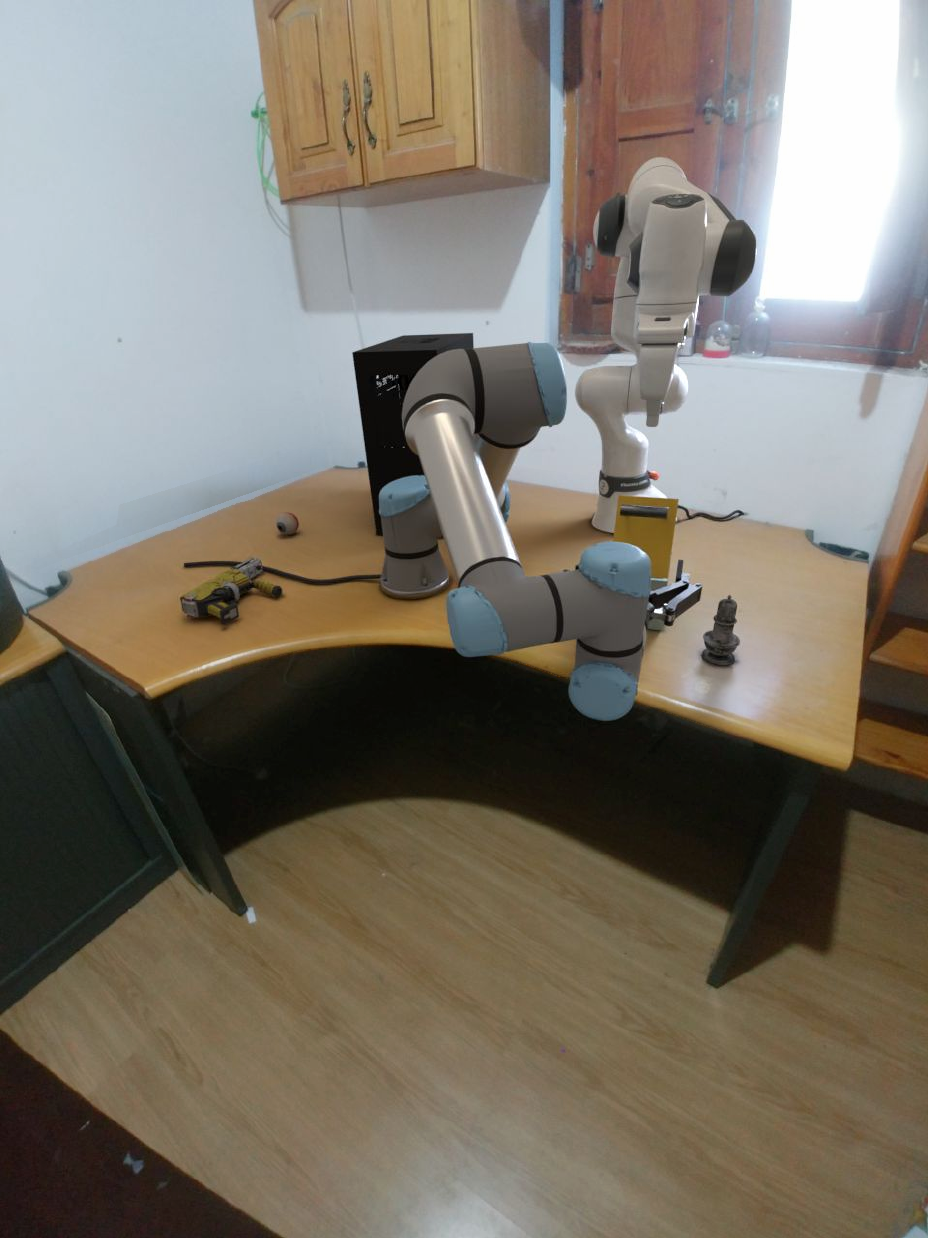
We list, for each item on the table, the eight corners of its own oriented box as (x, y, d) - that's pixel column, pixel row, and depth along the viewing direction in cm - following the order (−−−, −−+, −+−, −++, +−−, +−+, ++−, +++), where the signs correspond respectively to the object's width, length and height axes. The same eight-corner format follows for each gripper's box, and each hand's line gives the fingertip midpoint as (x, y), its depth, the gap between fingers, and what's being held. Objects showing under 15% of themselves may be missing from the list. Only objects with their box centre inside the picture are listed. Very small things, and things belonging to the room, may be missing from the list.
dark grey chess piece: (739, 667, 101) (752, 604, 95) (702, 664, 102) (713, 602, 96) (733, 648, 106) (745, 587, 100) (697, 646, 107) (708, 585, 101)
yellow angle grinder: (303, 565, 139) (248, 554, 143) (236, 611, 119) (174, 596, 122) (305, 584, 141) (250, 572, 145) (239, 632, 121) (178, 617, 125)
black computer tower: (449, 537, 157) (436, 349, 134) (376, 534, 161) (352, 352, 139) (479, 491, 188) (473, 332, 166) (417, 489, 193) (403, 335, 170)
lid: (619, 495, 109) (614, 489, 101) (678, 499, 106) (678, 493, 98) (609, 572, 111) (604, 572, 103) (667, 578, 108) (667, 579, 99)
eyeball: (273, 537, 164) (268, 516, 161) (287, 528, 169) (282, 508, 166) (291, 539, 161) (286, 518, 158) (305, 530, 166) (301, 510, 163)
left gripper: (525, 640, 85) (557, 575, 102) (714, 668, 77) (714, 593, 95) (525, 594, 82) (558, 534, 99) (724, 618, 74) (722, 549, 91)
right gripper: (649, 319, 100) (641, 406, 107) (635, 331, 83) (627, 433, 90) (689, 318, 98) (678, 406, 105) (683, 330, 81) (671, 434, 88)
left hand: (635, 563), depth 97 cm, fingers open, 13 cm apart
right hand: (654, 419), depth 98 cm, fingers open, 8 cm apart
